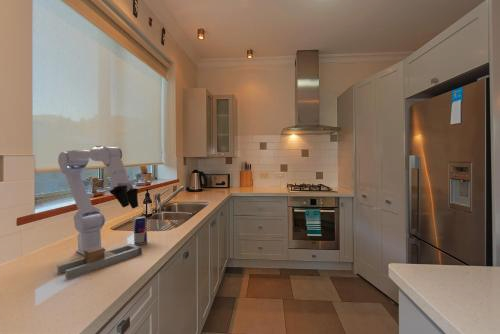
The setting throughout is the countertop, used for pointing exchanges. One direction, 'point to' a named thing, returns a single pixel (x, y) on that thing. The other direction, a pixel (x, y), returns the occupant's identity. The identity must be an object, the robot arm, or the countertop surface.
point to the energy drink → (140, 230)
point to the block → (95, 254)
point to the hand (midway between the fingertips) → (131, 206)
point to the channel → (98, 261)
